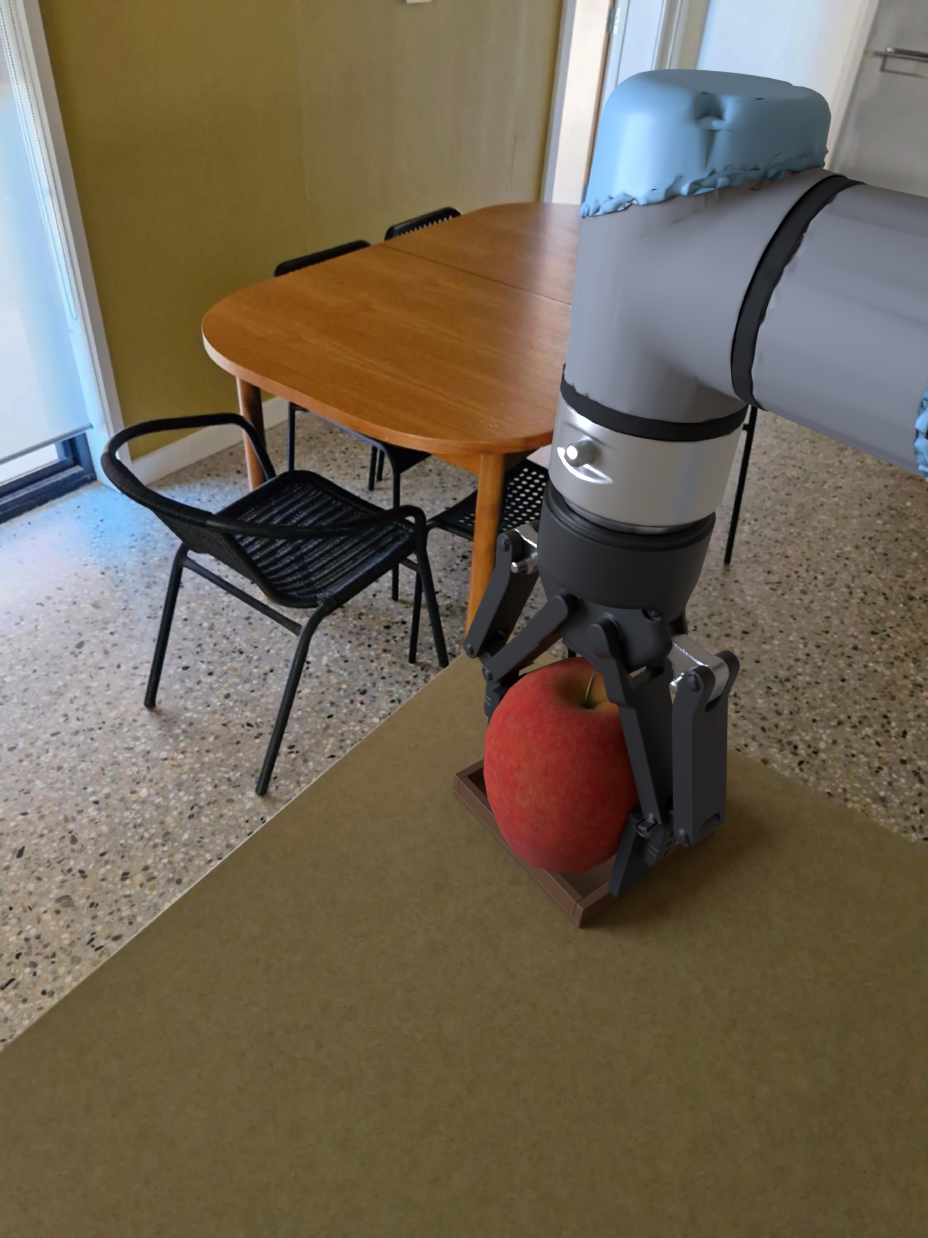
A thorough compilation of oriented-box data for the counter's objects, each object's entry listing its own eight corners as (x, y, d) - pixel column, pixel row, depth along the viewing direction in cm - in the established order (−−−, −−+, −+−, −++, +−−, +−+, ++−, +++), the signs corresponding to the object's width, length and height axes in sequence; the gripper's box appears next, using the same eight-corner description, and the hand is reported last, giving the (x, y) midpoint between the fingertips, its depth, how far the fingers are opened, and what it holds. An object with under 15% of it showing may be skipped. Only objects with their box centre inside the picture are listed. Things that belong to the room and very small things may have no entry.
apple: (501, 757, 59) (524, 588, 50) (652, 800, 56) (703, 633, 48) (451, 883, 51) (468, 710, 42) (624, 939, 49) (679, 769, 40)
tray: (714, 831, 78) (722, 813, 77) (578, 928, 70) (583, 910, 68) (585, 719, 88) (589, 701, 87) (452, 792, 80) (454, 774, 78)
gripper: (408, 408, 43) (399, 728, 57) (801, 670, 30) (663, 1003, 44) (524, 376, 47) (488, 683, 61) (917, 595, 34) (757, 923, 48)
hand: (562, 817), depth 52 cm, fingers closed on apple, 10 cm apart
